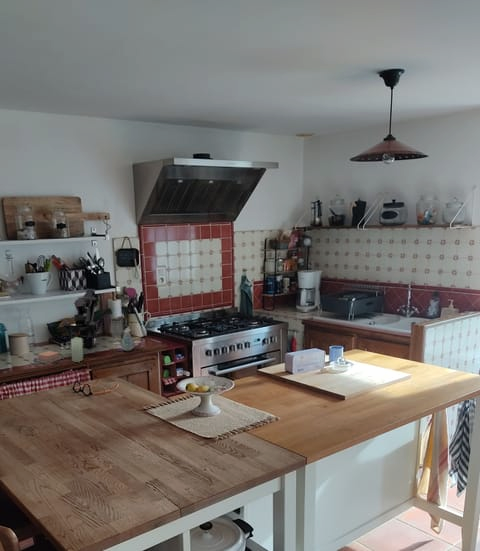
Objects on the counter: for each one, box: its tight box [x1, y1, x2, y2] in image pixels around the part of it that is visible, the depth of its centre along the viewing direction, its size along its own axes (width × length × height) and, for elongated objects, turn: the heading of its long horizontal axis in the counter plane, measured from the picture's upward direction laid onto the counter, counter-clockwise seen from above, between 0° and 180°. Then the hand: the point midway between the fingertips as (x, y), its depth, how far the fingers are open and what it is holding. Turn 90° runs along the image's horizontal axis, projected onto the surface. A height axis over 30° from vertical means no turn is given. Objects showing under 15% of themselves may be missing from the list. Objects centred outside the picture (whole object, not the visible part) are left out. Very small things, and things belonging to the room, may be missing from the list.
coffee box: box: [111, 316, 129, 344], centre depth 320 cm, size 9×6×16 cm
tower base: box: [32, 350, 65, 365], centre depth 283 cm, size 12×12×4 cm
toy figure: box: [112, 327, 142, 352], centre depth 301 cm, size 17×10×15 cm, turn 105°
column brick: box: [70, 336, 84, 363], centre depth 281 cm, size 6×6×14 cm
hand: (78, 339), depth 285 cm, fingers open, 9 cm apart
